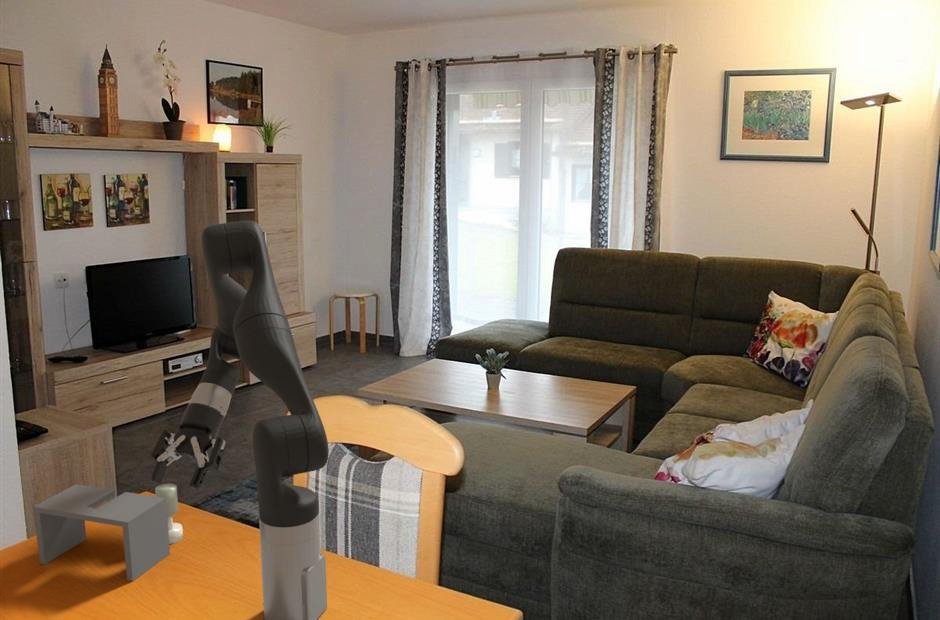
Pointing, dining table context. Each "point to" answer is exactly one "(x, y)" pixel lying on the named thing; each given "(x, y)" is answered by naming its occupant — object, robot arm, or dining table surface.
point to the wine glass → (171, 510)
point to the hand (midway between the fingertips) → (174, 485)
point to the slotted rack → (134, 512)
